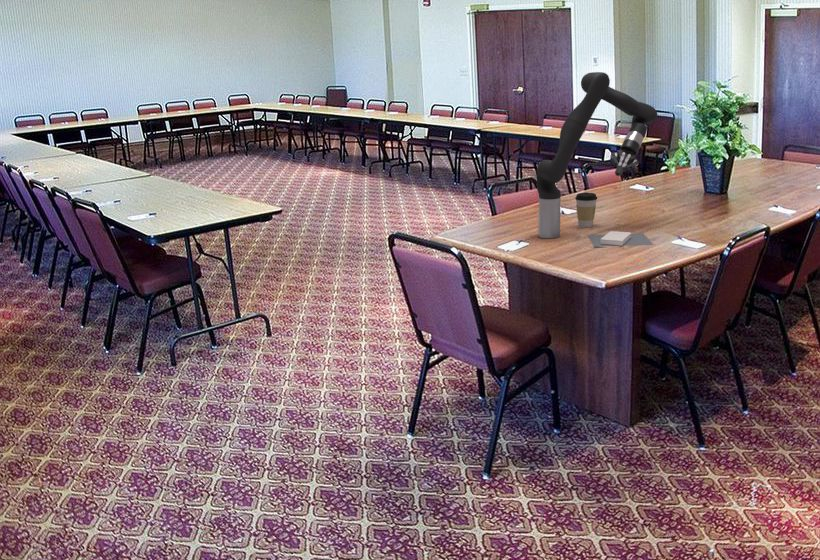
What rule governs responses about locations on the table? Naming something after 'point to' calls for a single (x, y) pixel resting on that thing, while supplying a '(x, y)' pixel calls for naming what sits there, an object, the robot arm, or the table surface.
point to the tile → (615, 238)
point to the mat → (634, 240)
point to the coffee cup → (585, 209)
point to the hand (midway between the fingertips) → (617, 174)
